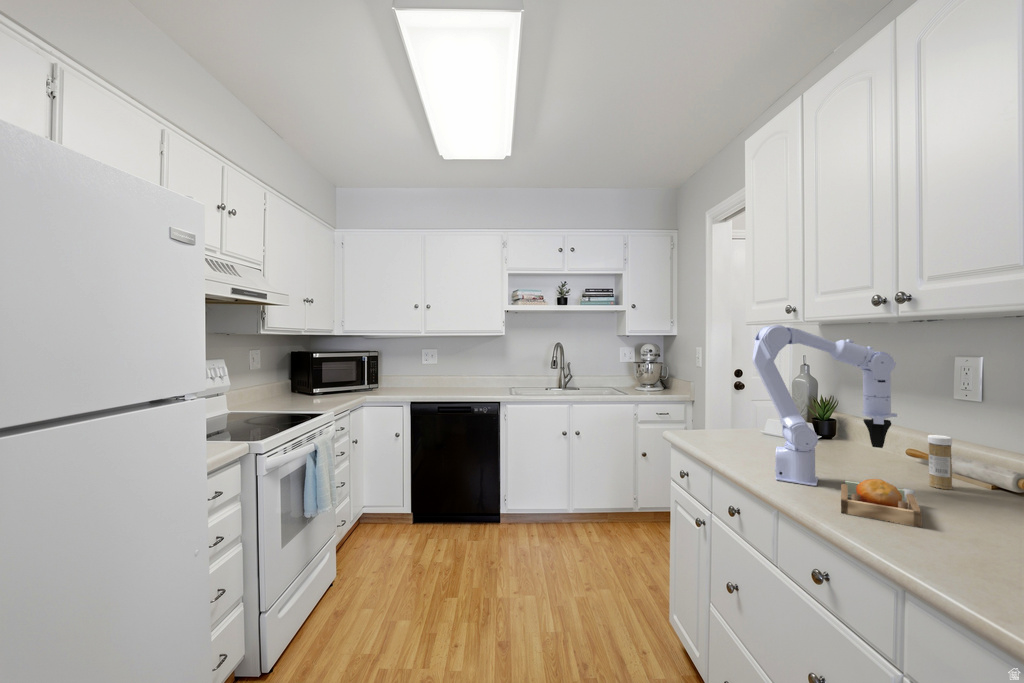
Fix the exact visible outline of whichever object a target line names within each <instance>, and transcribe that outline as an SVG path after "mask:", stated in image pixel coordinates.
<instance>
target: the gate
mask: <svg viewBox="0 0 1024 683" xmlns="http://www.w3.org/2000/svg"><path fill="white" fill-rule="evenodd" d="M844 483H845V485H847V492H848V496H851V494H857V492H856V487H857V485H858V484H859V483H860V482H856V481H851V480H845V481H844ZM897 490H898V491H899V492H900V493H901V494H902V501H904V502H907V494H912V495H914V497H915V498H916V490H915V489H911V488H897Z"/></svg>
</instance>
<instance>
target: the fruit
mask: <svg viewBox="0 0 1024 683" xmlns="http://www.w3.org/2000/svg"><path fill="white" fill-rule="evenodd" d="M858 483H859V484H858V485H857V487H856V492H857V494H859V495H860V502H866V503H872V504H878V505H884V506H891V507H897V508H898V501H902V494H901V493H900V492H899V491H898V490H897V489H898V488H897V487H896V486H894V485H893V484H890V483H889V482H888V481H887V482H886V481H885V480H883V479H879V478H870V479H868V478H867V479H864V480H862V481H861V482H858Z"/></svg>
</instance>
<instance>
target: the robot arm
mask: <svg viewBox="0 0 1024 683" xmlns="http://www.w3.org/2000/svg"><path fill="white" fill-rule="evenodd" d="M854 342H855V341H854V340H852V339H848V338H847V339H846V340H845V339H840V340H837V341H835V342H834V341H832V340H829V339H827V338H824V337H821V336H818V335H816V334H813V333H810V332H807V331H805V330H801V329H798V328H794V327H789V326H787V327H786V326H784V325H782V324H774V325H766V326H764V327H762V328H761V329H759V331H758V332H757V334H756V336H755V337H754V346H753V350H752V351H753V352H752V358H751V359H752V364H753V365H754V367H755V369H756V371H757V373H758V375H759V378H760V379H761V382H762V384H763V386H764V387H765V390H766V392H767V394H768V396H769V398H770V400H771V402H772V404H773V406H774V408H775V410H776V412H777V414H778V416H779V422H780V424H781V427H782V431H781V432H782V433H781V434H782V436H783V438H784V439H785V440H786V441H785V442H784V444H783V446H779V445H777V446H776V448H775V466H774V468H775V469H774V472H775V477H774V478H775V480H776V481H781V482H786V483H793V484H801V485H807V486H813V487H817V486H818V480H819V477H818V476H816V447H817V445H818V442H819V437H818V435H817V432H815V431H814V430H813V429H812V428H811V427H809V425H808V424H807V422H806V420H805V419H804V417H803V416H802V415H801V413H800V412H799V409H798V408H797V405H796V404H795V402H794V399H793V397H792V396H791V393H790V391H789V389H788V387H787V385H786V384H785V381H784V380H783V377H782V375H781V374H780V372H779V369H778V367H777V365H776V363H775V360H776V358H777V357H778V355H779V353H780V351H781V350H783V349H784V347H786V346H787V345H795V344H796V345H797V344H799V345H803V346H806V347H810V348H813V349H816V350H818V351H819V350H820V351H822V352H823V351H824V352H826V353H828V354H829V355H830V357H831V358H832V359H833V361H834V360H835V361H837V362H840V363H844V364H847V365H849V366H852V367H855V368H860V369H861V370H862V403H863V404H862V411H861V414H862V415H863V416H865V417H868V418H864V419H863V420H862V421H863V423H864V425H865V426H866V428H867V431H868V434H869V440H870V443H871V447H872V448H877V449H878V448H879V449H883V447H884V445H885V440H886V436H887V433H888V431H889V429H890V427H892V421H891V420H890V418H898V413H895V412H894V413H893V412H892V386H891V384H892V380H891V373H892V371H893V370H894V369H895V368H896V364H897V363H896V362H895V361H894V358H893V356H891V354H890V353H888V352H885V351H875V350H874V347H872V346H863V345H861V344H857V343H854ZM869 418H870V419H869Z"/></svg>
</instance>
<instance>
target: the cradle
mask: <svg viewBox="0 0 1024 683" xmlns="http://www.w3.org/2000/svg"><path fill="white" fill-rule="evenodd" d="M848 496H849V495H848V492H847V485H845V484H844V483H841V485H840V514H844V513H845V515H849V514H852V515H851V516H855V515H857V516H856V517H860V516H863V517H862V518H866V517H869V518H868V519H871V518H875V519H874V520H877V519H880V520H879V521H882V520H885V521H884V522H888V521H890V522H889V523H893V522H894V523H893V524H898V523H900V525H904V524H907V525H906V526H909V525H912V527H915V526H917V528H920V527H923V523H922V518H923V517H922V516H923V514H922V511H921V509H920V507H919V504H918V501H917V500H916V496H915V497H914V495H912V494H907V502H904V501H898V508H897V507H891V506H884V505H878V504H872V503H866V502H860V495H859V494H851V495H850V496H851V499H848Z"/></svg>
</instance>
